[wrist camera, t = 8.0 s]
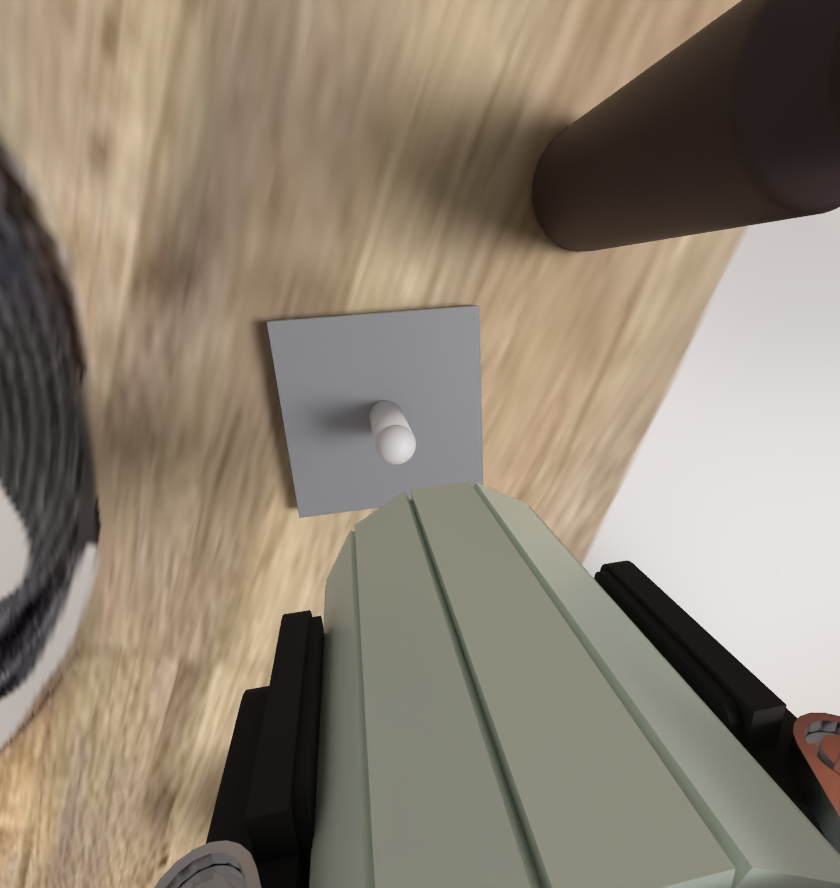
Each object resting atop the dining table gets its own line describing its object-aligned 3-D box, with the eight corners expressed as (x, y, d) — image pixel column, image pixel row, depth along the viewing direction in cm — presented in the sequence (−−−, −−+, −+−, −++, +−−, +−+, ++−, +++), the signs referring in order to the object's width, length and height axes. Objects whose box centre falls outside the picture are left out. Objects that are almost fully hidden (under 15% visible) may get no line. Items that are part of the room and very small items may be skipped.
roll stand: (270, 320, 27) (243, 331, 19) (472, 305, 28) (519, 309, 21) (301, 507, 31) (288, 577, 23) (477, 484, 32) (518, 543, 25)
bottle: (521, 136, 26) (1003, -279, 7) (634, 112, 26) (1358, -331, 8) (537, 263, 28) (931, 207, 9) (640, 239, 29) (1207, 139, 10)
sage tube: (312, 501, 11) (242, 997, 3) (558, 470, 11) (975, 805, 4) (343, 701, 13) (346, 1309, 5) (553, 663, 13) (825, 1140, 6)
